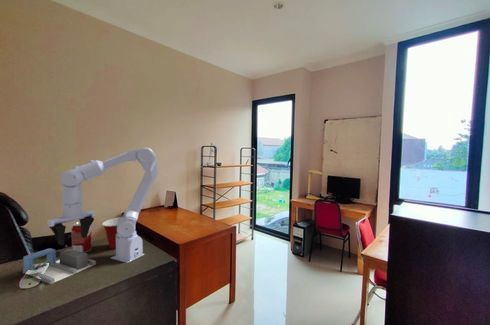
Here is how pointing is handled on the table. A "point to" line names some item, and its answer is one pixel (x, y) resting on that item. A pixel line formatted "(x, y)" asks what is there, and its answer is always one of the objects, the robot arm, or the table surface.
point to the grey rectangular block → (74, 259)
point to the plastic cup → (111, 231)
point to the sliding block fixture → (52, 266)
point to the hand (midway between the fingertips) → (73, 240)
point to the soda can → (81, 239)
